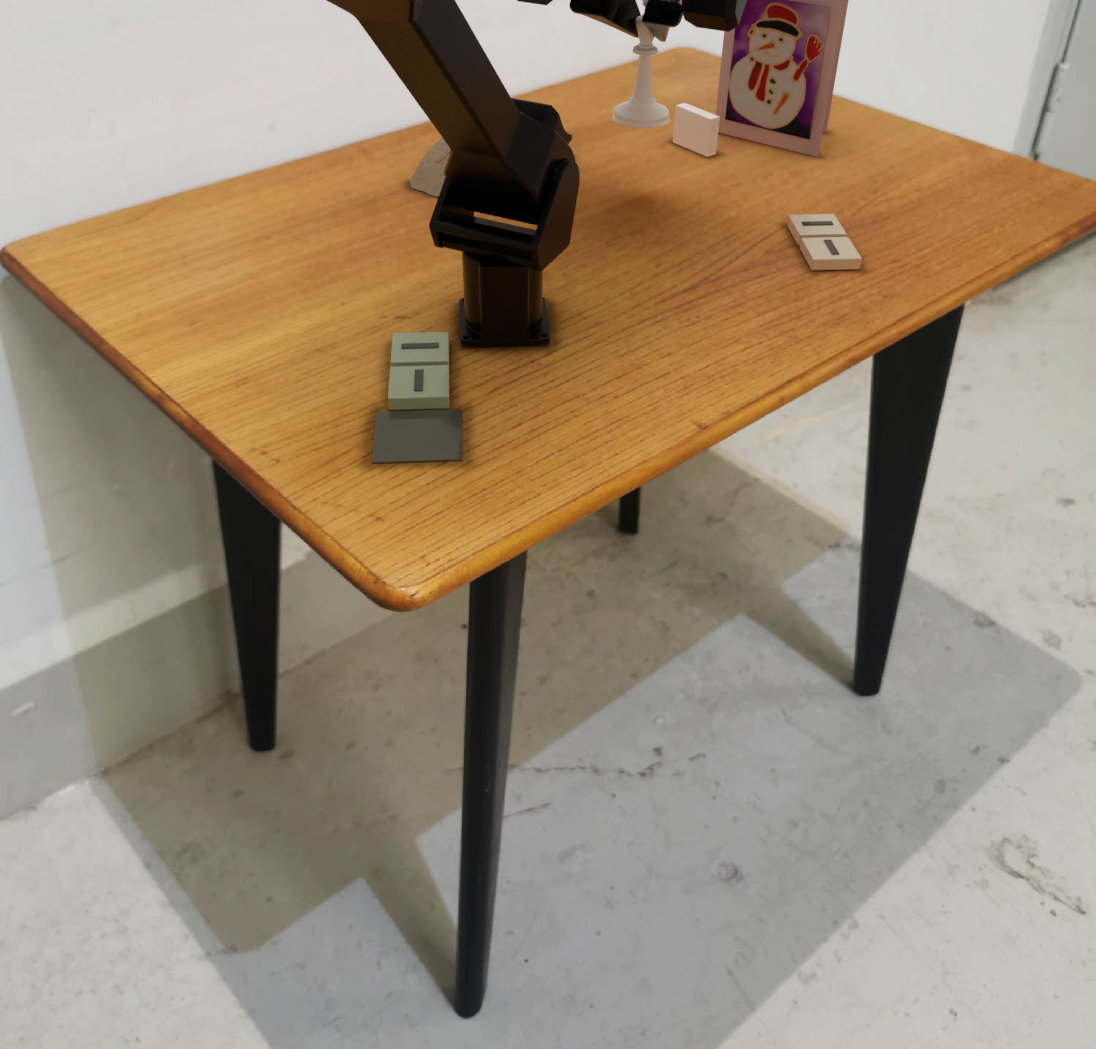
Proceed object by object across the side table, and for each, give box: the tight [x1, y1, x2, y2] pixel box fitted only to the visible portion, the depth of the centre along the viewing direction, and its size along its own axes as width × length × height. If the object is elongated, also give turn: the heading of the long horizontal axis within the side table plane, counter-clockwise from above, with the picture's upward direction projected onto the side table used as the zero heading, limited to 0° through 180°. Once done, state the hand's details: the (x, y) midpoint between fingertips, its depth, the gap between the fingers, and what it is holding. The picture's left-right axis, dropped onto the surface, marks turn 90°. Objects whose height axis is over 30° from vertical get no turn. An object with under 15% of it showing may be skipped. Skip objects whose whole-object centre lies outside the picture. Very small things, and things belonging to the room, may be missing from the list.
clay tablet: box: [409, 136, 451, 198], centre depth 105 cm, size 14×10×3 cm
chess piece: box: [611, 0, 671, 129], centre depth 93 cm, size 5×5×10 cm
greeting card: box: [715, 0, 849, 158], centre depth 108 cm, size 11×7×15 cm, turn 55°
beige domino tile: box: [786, 213, 863, 271], centre depth 93 cm, size 8×4×1 cm, turn 4°
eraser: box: [672, 102, 720, 158], centre depth 109 cm, size 1×5×4 cm, turn 39°
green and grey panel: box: [371, 331, 464, 464], centre depth 75 cm, size 14×6×1 cm, turn 4°
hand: (652, 34), depth 93 cm, fingers closed on chess piece
